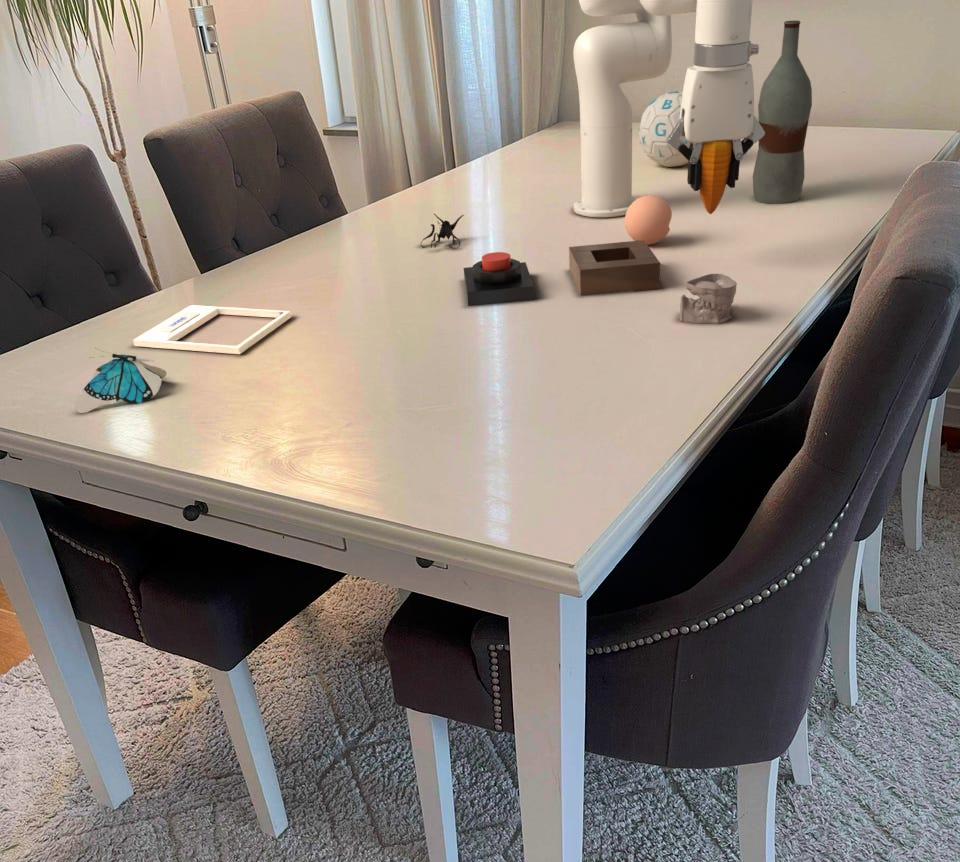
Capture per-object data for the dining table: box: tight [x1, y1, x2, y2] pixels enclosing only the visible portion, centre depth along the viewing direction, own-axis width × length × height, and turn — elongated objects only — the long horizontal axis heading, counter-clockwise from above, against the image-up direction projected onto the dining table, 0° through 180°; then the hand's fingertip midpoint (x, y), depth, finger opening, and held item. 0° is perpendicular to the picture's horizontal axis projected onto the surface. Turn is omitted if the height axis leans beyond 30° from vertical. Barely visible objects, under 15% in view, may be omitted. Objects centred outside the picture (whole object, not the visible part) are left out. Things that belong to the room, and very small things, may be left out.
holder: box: [568, 240, 661, 297], centre depth 147 cm, size 12×12×4 cm
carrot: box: [699, 140, 732, 215], centre depth 143 cm, size 5×5×15 cm
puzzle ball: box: [638, 90, 690, 168], centre depth 205 cm, size 15×15×15 cm
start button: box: [481, 251, 512, 271], centre depth 146 cm, size 4×4×2 cm
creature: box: [420, 213, 465, 250], centre depth 170 cm, size 8×5×8 cm
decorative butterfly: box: [74, 348, 168, 414], centre depth 124 cm, size 10×6×10 cm
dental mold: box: [679, 273, 738, 325], centre depth 131 cm, size 8×7×5 cm
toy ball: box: [624, 194, 673, 245], centre depth 161 cm, size 8×8×8 cm
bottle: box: [752, 19, 813, 205], centre depth 173 cm, size 9×9×30 cm
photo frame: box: [132, 304, 292, 355], centre depth 141 cm, size 15×1×18 cm
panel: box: [463, 258, 535, 307], centre depth 147 cm, size 12×10×4 cm
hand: (712, 186), depth 145 cm, fingers closed on carrot, 4 cm apart
